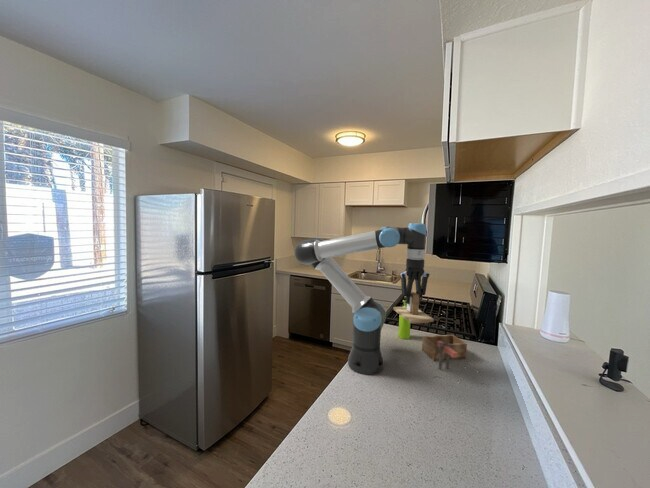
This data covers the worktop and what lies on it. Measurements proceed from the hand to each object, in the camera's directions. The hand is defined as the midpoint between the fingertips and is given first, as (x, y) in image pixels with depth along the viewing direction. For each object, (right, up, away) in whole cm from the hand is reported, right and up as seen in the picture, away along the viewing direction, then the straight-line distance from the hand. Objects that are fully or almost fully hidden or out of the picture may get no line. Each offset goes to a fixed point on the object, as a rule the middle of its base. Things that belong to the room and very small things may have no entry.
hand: (412, 310), depth 122 cm
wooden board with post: (0, -2, 0) cm, 2 cm away
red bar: (+11, -15, -8) cm, 21 cm away
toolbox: (+16, -22, +3) cm, 28 cm away
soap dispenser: (+4, -20, +24) cm, 32 cm away
